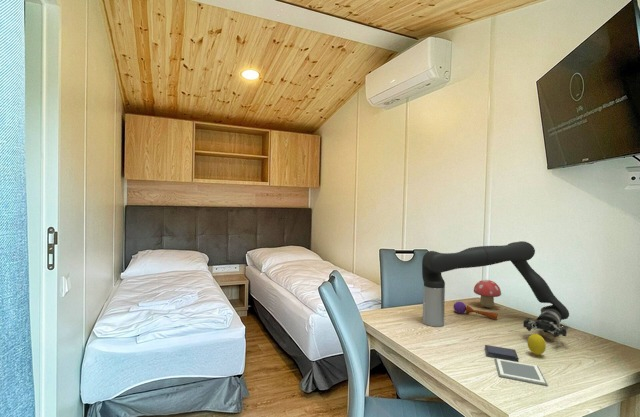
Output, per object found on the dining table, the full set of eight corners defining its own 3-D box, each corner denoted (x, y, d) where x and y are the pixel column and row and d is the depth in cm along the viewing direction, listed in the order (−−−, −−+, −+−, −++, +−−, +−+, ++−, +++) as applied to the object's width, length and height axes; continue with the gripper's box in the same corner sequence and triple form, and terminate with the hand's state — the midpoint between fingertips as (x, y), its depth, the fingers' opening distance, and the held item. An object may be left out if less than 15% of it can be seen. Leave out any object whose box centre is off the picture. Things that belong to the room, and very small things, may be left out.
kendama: (496, 313, 156) (452, 303, 167) (495, 325, 157) (452, 313, 168) (498, 308, 160) (455, 298, 172) (497, 319, 162) (454, 308, 173)
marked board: (499, 376, 104) (499, 374, 104) (494, 359, 116) (494, 357, 116) (547, 386, 99) (547, 383, 99) (538, 367, 111) (538, 365, 111)
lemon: (523, 352, 122) (524, 330, 122) (537, 351, 123) (538, 330, 123) (534, 359, 117) (535, 336, 117) (549, 358, 117) (549, 336, 117)
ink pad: (486, 356, 118) (486, 352, 118) (484, 347, 126) (484, 344, 126) (518, 362, 114) (518, 357, 114) (514, 352, 122) (514, 348, 122)
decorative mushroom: (471, 303, 186) (471, 276, 186) (497, 305, 183) (497, 278, 183) (475, 310, 173) (476, 281, 173) (504, 312, 170) (504, 283, 170)
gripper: (529, 308, 144) (520, 317, 132) (569, 316, 135) (564, 326, 123) (528, 325, 144) (520, 335, 132) (569, 334, 135) (564, 346, 123)
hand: (541, 331), depth 128 cm, fingers open, 8 cm apart
